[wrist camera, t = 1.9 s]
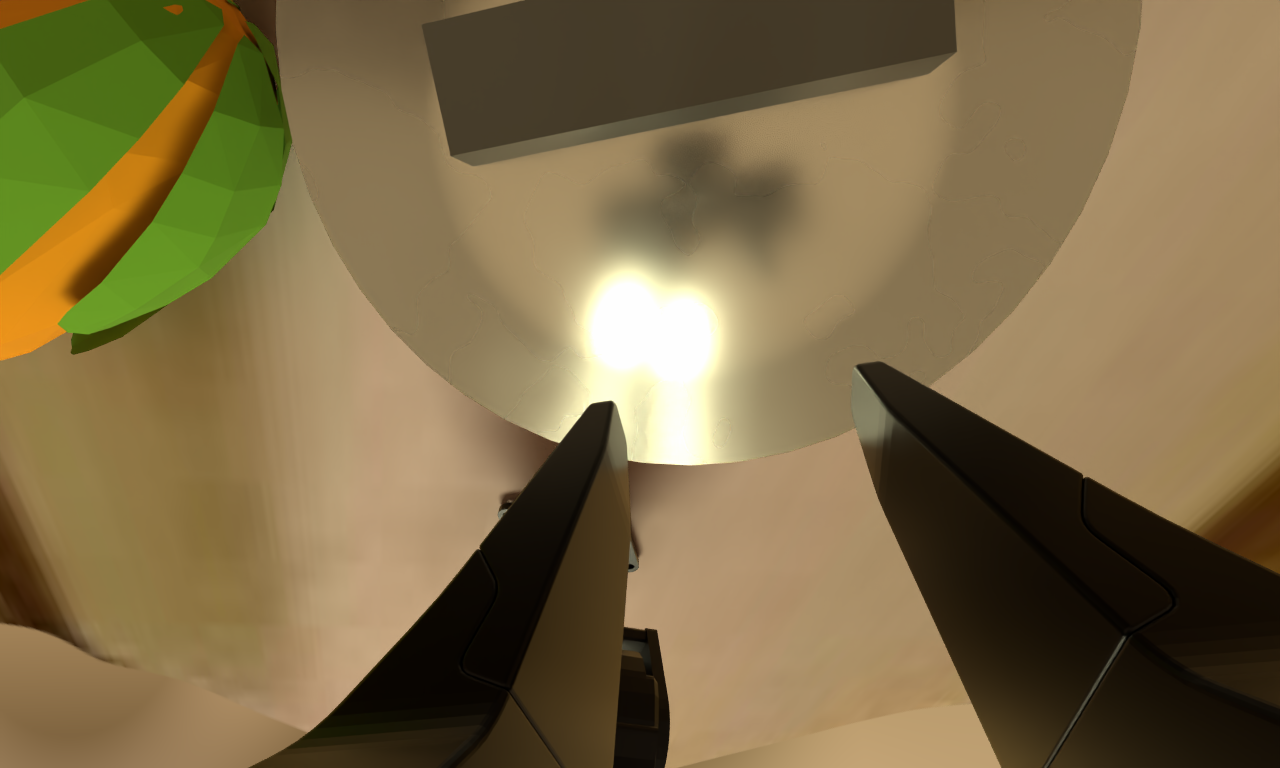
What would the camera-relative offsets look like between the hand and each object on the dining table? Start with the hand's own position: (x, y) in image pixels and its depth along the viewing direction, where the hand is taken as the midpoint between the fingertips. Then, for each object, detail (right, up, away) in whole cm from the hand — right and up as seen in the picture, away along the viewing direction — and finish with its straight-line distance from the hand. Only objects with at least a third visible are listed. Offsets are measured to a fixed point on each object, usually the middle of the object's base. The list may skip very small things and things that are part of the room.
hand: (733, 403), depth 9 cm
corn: (-20, +7, +11) cm, 24 cm away
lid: (-1, +6, +1) cm, 6 cm away
